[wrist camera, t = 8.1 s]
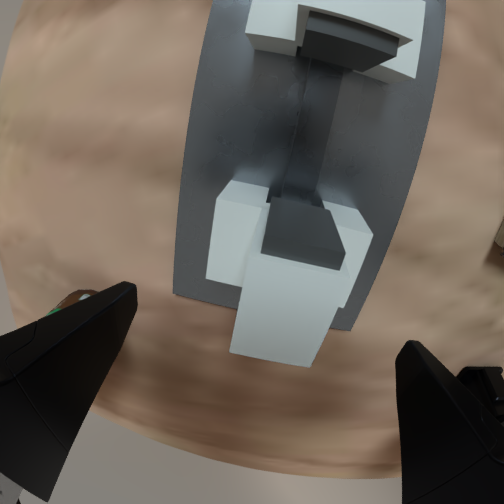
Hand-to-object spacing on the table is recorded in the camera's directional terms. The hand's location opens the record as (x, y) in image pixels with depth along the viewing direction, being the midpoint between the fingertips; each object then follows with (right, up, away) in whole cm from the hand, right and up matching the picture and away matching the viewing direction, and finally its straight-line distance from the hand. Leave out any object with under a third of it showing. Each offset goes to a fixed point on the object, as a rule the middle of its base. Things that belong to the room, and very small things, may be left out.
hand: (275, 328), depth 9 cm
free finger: (+1, +3, +7) cm, 8 cm away
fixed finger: (+3, +13, +2) cm, 14 cm away
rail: (+2, +8, +5) cm, 10 cm away
